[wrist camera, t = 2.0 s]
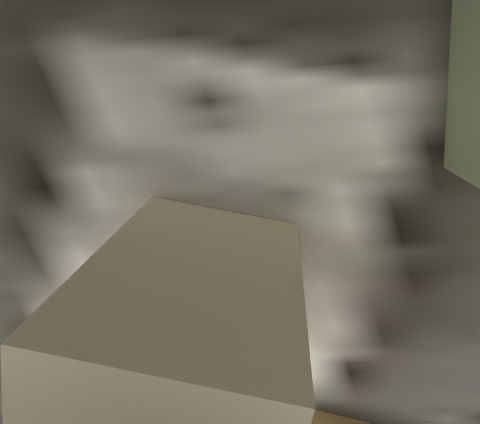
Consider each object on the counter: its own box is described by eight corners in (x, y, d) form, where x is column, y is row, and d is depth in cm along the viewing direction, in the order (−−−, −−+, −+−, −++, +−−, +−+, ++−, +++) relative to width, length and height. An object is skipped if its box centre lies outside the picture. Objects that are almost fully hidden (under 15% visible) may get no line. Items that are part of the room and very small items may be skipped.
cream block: (153, 196, 17) (0, 344, 8) (297, 224, 17) (315, 409, 8) (140, 320, 19) (5, 556, 10) (269, 346, 19) (256, 612, 10)
